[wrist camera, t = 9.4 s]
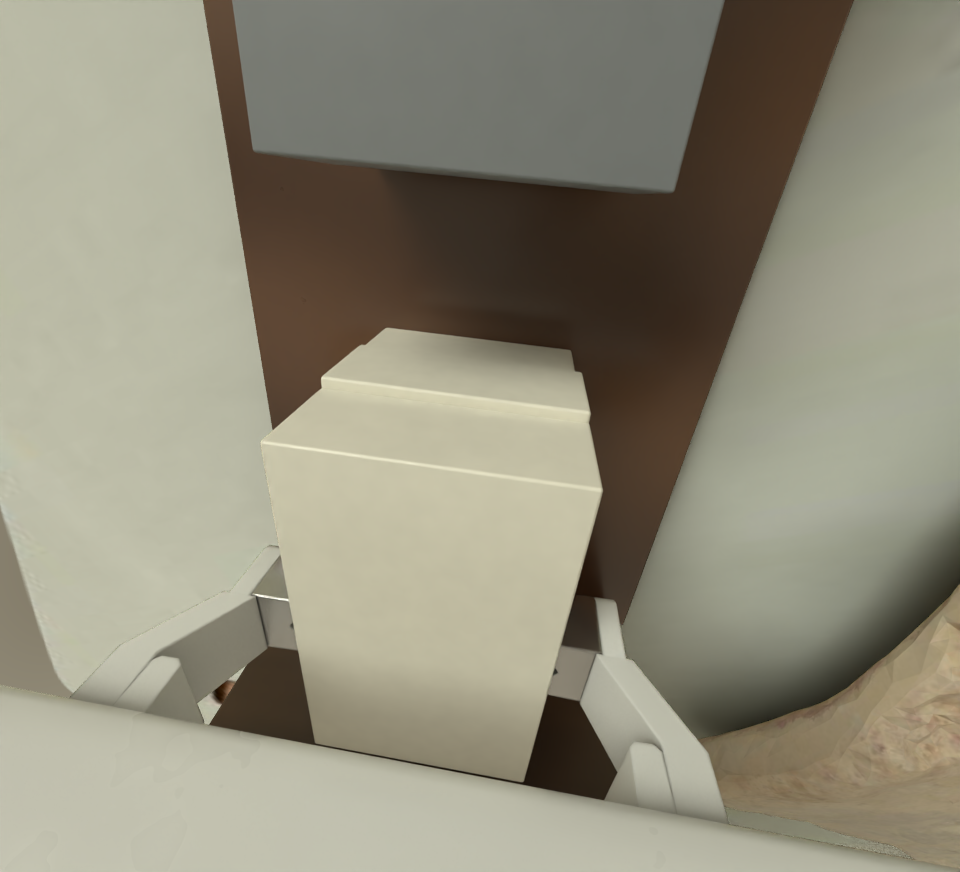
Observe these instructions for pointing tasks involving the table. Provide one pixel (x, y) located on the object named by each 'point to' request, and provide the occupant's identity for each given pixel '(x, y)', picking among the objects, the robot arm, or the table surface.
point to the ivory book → (430, 571)
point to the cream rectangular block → (465, 374)
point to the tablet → (865, 751)
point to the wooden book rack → (533, 301)
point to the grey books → (480, 86)
